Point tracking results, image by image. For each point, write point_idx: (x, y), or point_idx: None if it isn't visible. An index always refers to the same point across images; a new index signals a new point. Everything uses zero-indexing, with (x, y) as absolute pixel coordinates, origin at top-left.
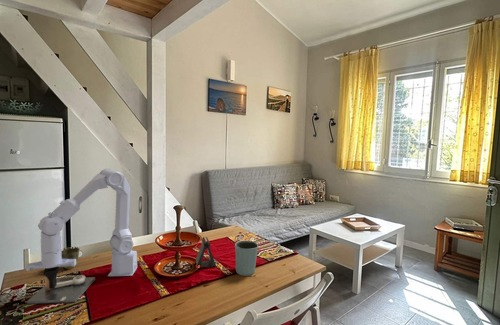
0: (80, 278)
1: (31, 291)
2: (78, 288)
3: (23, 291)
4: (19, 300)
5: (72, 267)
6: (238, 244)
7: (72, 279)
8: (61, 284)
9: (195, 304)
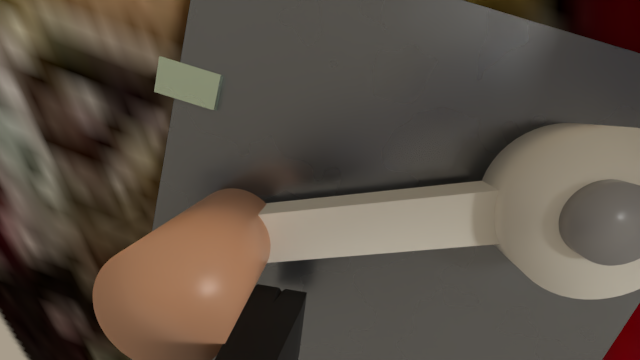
0: (621, 252)
1: (81, 142)
2: (536, 328)
3: (8, 114)
4: (62, 274)
5: None
6: None
7: (458, 56)
8: (357, 252)
9: None
